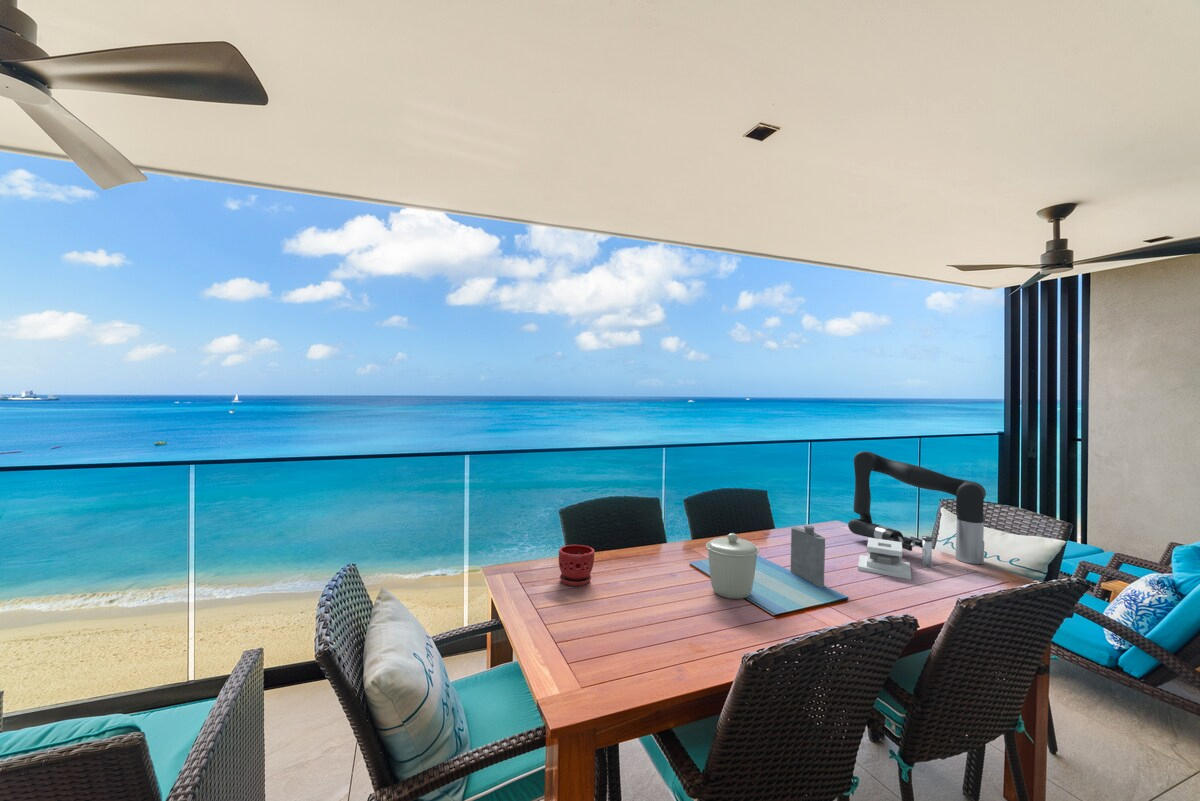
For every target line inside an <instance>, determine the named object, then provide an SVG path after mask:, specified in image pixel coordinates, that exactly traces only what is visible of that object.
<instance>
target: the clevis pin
mask: <svg viewBox="0 0 1200 801" xmlns="http://www.w3.org/2000/svg"><path fill="white" fill-rule="evenodd" d="M933 539H934V538H933V537H932V536H928V535H922V536H921V540H923V546H922V548H921V549H922V552H921V553H922V554H921V567H923V568H927V569H928V568H929V569H930V568H932V553H933V552H932V551H933Z"/></svg>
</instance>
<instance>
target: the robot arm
mask: <svg viewBox="0 0 1200 801" xmlns="http://www.w3.org/2000/svg"><path fill="white" fill-rule="evenodd" d="M853 468H854V480H855V481H854V482H855V483H854V496H853V497H854V498H853V499H854V500H853V512H854V513H855V514H857V515H859V517H860V518H852V519H850V520H849V521H848V524H847V526H848V529H849V530H850V532H851V533H852V534H854V535H857V536H862V537H865V538H868V537H869V538H876V539H883V540H890V541H897V542H902V550H903V549H904V550H907V551H909V552H913V548H915V547H917V548H921V549H922V546H923V539H922V538H921V539H920V538H917V537H914V536H910V537H908V536H904V535H903V533H902V532H901V531H899V530H897V529H894V528H891V527H887V526H883V525H880V524H876V523H873V521H872V520H873V519H872V514H871V504H872V503H871V500H872V499H871V498H872V497H871V496H872V495H871V487H870V486H871V485H870V478H871V473H872V472H875V473H880V474H882V475H883V474H884V475H887V476H889V477H891V478H893V479H895V480H897V481H899V482H902V483H904V484H907V485H909V486H913V487H915V488H919V489H924V490H930V491H936V492H941V493H946V494H949V495H952V496H954V497H956V498H955V501H956V503H955V512H956V532H955V535H956V536H955V537H956V538H955V559H956V560H957V561H959V562H963V563H965V564H974V565H984V563H985V541H984V536H985V535H984V533H985V532H984V531H985V530H984V529H985V514H984V503H985V502H984V500H985V498H986V496H987V492H986V488H984V486H983V485H982V484H980V483H978V482H976V481H972V480H966V479H962V478H956V477H953V476H948V475H946V474H943V473H940V472H937V471H934V470H931V469H929V468H926V467H922V466H919V465H915V464H911V463H908V462H904V461H903V462H902V461H897V460H892V459H889V458H888V457H887V458H886V457H885V456H884V457H883V456H881V455H879V454H876V453H874V452H871V451H865V450H864V451H859V452H857V453H856V454H855V455H854V458H853Z"/></svg>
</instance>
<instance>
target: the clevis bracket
mask: <svg viewBox="0 0 1200 801" xmlns="http://www.w3.org/2000/svg"><path fill="white" fill-rule="evenodd" d="M867 538H868V539H867V546H866V552H867V555H863V554H860V555H859V559H858V562H857V563H858V565H857V571H861V572H867V573H873V574H877V575H883V576H884V575H885V576H889V577H895V578H901V579H905V580H906V579H907V580H912V571H911V569H912V568H911V564H910V562H907V561H903V560H902V558H903V549H902V542H897V541H890V540H883V539H876V538H869V537H867Z"/></svg>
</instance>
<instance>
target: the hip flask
mask: <svg viewBox="0 0 1200 801" xmlns="http://www.w3.org/2000/svg"><path fill="white" fill-rule="evenodd" d="M790 532H791V533H790V536H791V537H790V539H791V540H790V568H789V569H790V573H791V574H794V575H795V576H798V577H801V578H802V579H805V580H806V581H808V582H810V583H811V582H812V583H811V584H813V585H815V586H816V587H822V588H823V587H824V586H825V566H826V565H825V560H826V559H825V558H826V556H825V555H826V537H824V536H822V535H820V534H818V533H816V532H815V526H813V525H810V524H809V525H807V524H805V525H803V528H800V527H797V526H793V527H791V531H790Z"/></svg>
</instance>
